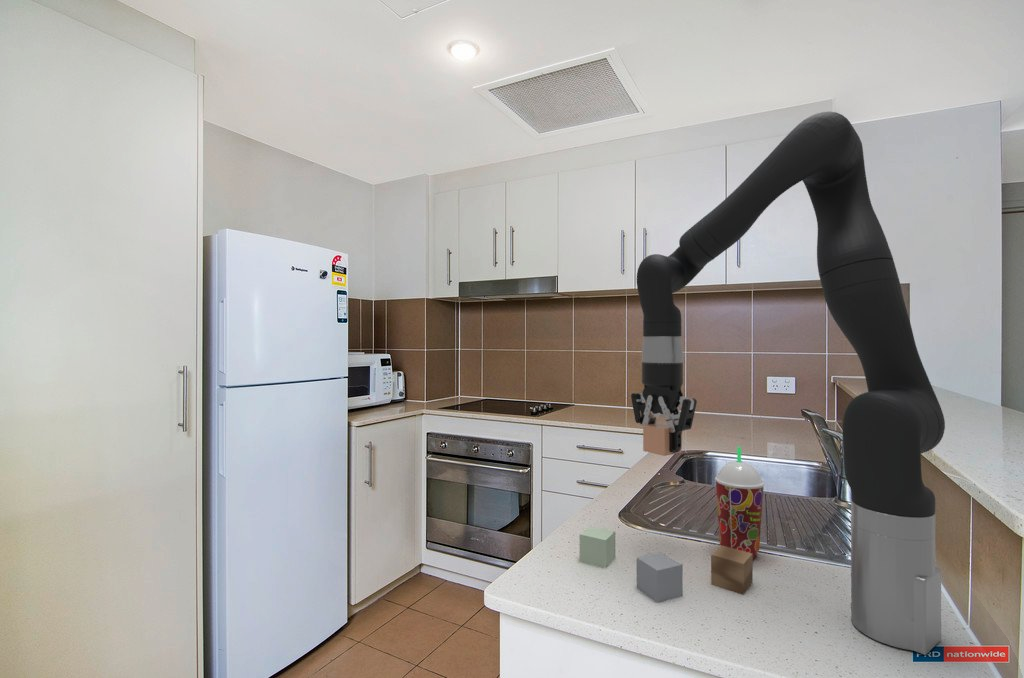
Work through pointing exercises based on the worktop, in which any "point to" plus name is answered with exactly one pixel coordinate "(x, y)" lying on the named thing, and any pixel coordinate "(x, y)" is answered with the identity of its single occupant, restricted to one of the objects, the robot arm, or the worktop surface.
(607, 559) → the sage block
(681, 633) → the worktop surface
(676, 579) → the grey block
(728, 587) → the walnut block
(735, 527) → the smoothie
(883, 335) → the robot arm
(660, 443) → the terracotta block
